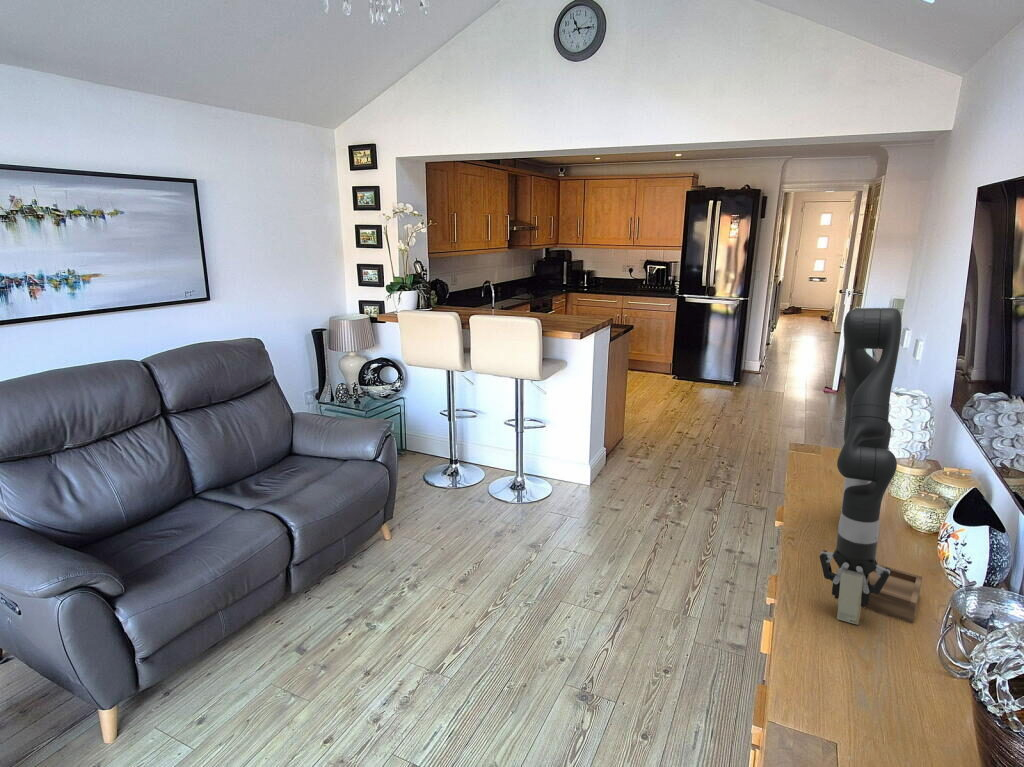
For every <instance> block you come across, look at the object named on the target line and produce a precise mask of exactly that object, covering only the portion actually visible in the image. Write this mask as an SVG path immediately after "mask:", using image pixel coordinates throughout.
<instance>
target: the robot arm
mask: <svg viewBox="0 0 1024 767" xmlns="http://www.w3.org/2000/svg"><path fill="white" fill-rule="evenodd" d="M902 324H903V322H902V313H901V312H900V311H899V310H898V308H894V307H865V308H864V307H862V308H861V307H860V308H859V307H858V308H853V309H850V310H849V311H848V312H847V313H846V315H845V318H844V321H843V340H844V350H845V381H844V382H845V384H844V386H845V388H844V392H845V395H844V396H845V419H844V427H843V428H844V429H843V440H844V444H843V446H842V448H841V451H840V452H839V455H838V458H837V462H836V463H837V464H836V465H837V469H838V470H837V471H838V472H839V473H840V475H841V476H843V478H844V483H843V484H844V485H843V492H842V502H841V510H840V515H839V516H840V518H839V520H838V521H839V522H838V525H837V537H836V538H837V539H836V546H835V550H834V551H833V552H831V551H830V552H829V551H828V550H825V549H824V550H822V551H821V553H820V555H819V560H820V564H821V570H822V573H823V578H824V579H825V580H830V581H831V582H832V590H831V594H832V596H834V599H836V600H839V590H840V578H841V570H851V571H855V572H857V573H858V574H860V575H864V576H863V586H862V588H863V591H862V596H861V606H862V607H861V608H864V606H865V605H866V606H867V605H868V603H869V599H870V593H875V594H879V592H880V591H881V589H882V587H883V586H884V584H885V582H886V581H887V579H888V577H889V575H890V571H891V570H890V568H891V567H889V566H886V567H885V568H883V567H881V566H879V565H880V564H879V565H877V564H878V562H877V559H876V555H877V550H878V549H877V548H878V542H879V541H878V540H879V534H880V514H881V506H882V503H883V498H884V495H885V493H886V491H887V488H888V487H889V485H890V483H891V481H892V480H893V478H894V476H895V474H896V471H897V467H898V464H897V462H898V461H897V458H896V456H895V454H894V453H893V452H892V451H890V450H889V447H890V441H891V437H892V426H891V425H892V424H891V423H890V422H889V415H890V400H891V393H892V387H893V382H894V378H895V377H894V376H895V373H896V369H897V368H896V367H897V364H898V358H899V351H900V350H899V349H900V344H901V336H902V327H903V326H902ZM868 349H869V350H882V351H881V354H880V357H879V361H877V360H876V359H874V358H873V356H871V355H870V354H869V353H868V352H867V350H868ZM832 559H833V560H834V561H835V563H836V565H837V567H838V569H837V571H836V573H834V572H833V568H832V565H831V562H832ZM888 567H889V568H888ZM874 570H876V571H877V576H878V577H879V578H878V580H877V582H876V584H875V585H871V583H870V579H869V574H870V573H871V572H873V571H874Z"/></svg>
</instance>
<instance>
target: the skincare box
mask: <svg viewBox="0 0 1024 767" xmlns="http://www.w3.org/2000/svg"><path fill="white" fill-rule="evenodd" d="M863 576H864V575H860V574H858V573H857V572H855V571H851V570H841V578H840V590H839V598H838V601H837V602H838V604H837V612H836V613H837V614H836V615H837V616H836V620H838V621H843V622H846V623H850V624H854V625H857V626H859V622H860V620H861V619H860V617H861V613H862V612H861V611H862V607H861V596H862V591H863V588H862V586H863Z"/></svg>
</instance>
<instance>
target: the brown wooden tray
mask: <svg viewBox="0 0 1024 767" xmlns="http://www.w3.org/2000/svg"><path fill="white" fill-rule="evenodd" d="M877 565H879V566H881V567H883V568H885V567H888V568H890V570H891V571H890V575H889V577H888V579H887V581H886V582H885V584H884V586H883V587H882V589H881V591H880V592H879V594H875V593H870V599H869V603H868V605H867V606H866V605H865V606H864V607H865V609H867V608H868V610H870V609H871V610H870V611H873V610H874V612H876V613H878V614H879V613H880V614H883V615H886V616H889V617H893V618H895V619H899V620H901V621H904V622H908V623H911V624H913V623H914V619H915V615H916V611H917V606H918V602H919V599H920V598H919V597H920V592H921V587H922V579H923V576H921V575H917V574H915V573H910V572H906V571H902V570H900V569H896V568H892V567H889V566H885V565H881V564H878V563H877ZM878 578H879V577H878V576H877V571H876V570H874V571H873V572H871V573H870V574H869V579H870V583H871V585H875V584H876V582H877V580H878ZM864 607H863V608H864Z"/></svg>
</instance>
